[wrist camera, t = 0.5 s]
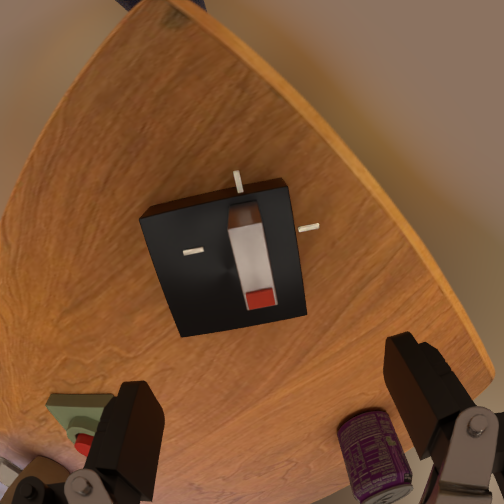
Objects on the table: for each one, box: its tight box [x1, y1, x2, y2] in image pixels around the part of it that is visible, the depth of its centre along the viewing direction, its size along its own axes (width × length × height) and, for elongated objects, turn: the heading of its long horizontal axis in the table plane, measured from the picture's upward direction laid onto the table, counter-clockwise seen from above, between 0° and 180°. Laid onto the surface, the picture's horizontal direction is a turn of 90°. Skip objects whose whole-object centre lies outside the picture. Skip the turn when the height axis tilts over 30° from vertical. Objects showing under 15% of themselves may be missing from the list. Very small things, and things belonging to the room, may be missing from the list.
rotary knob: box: [227, 201, 278, 310], centre depth 19 cm, size 5×2×5 cm, turn 11°
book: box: [0, 457, 23, 487], centre depth 46 cm, size 15×23×4 cm, turn 44°
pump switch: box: [45, 394, 114, 444], centre depth 31 cm, size 10×10×4 cm
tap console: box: [139, 170, 319, 337], centre depth 23 cm, size 12×12×3 cm
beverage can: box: [337, 411, 413, 504], centre depth 30 cm, size 7×7×12 cm
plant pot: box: [0, 456, 70, 504], centre depth 33 cm, size 15×15×16 cm
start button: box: [74, 433, 94, 456], centre depth 29 cm, size 4×4×2 cm
